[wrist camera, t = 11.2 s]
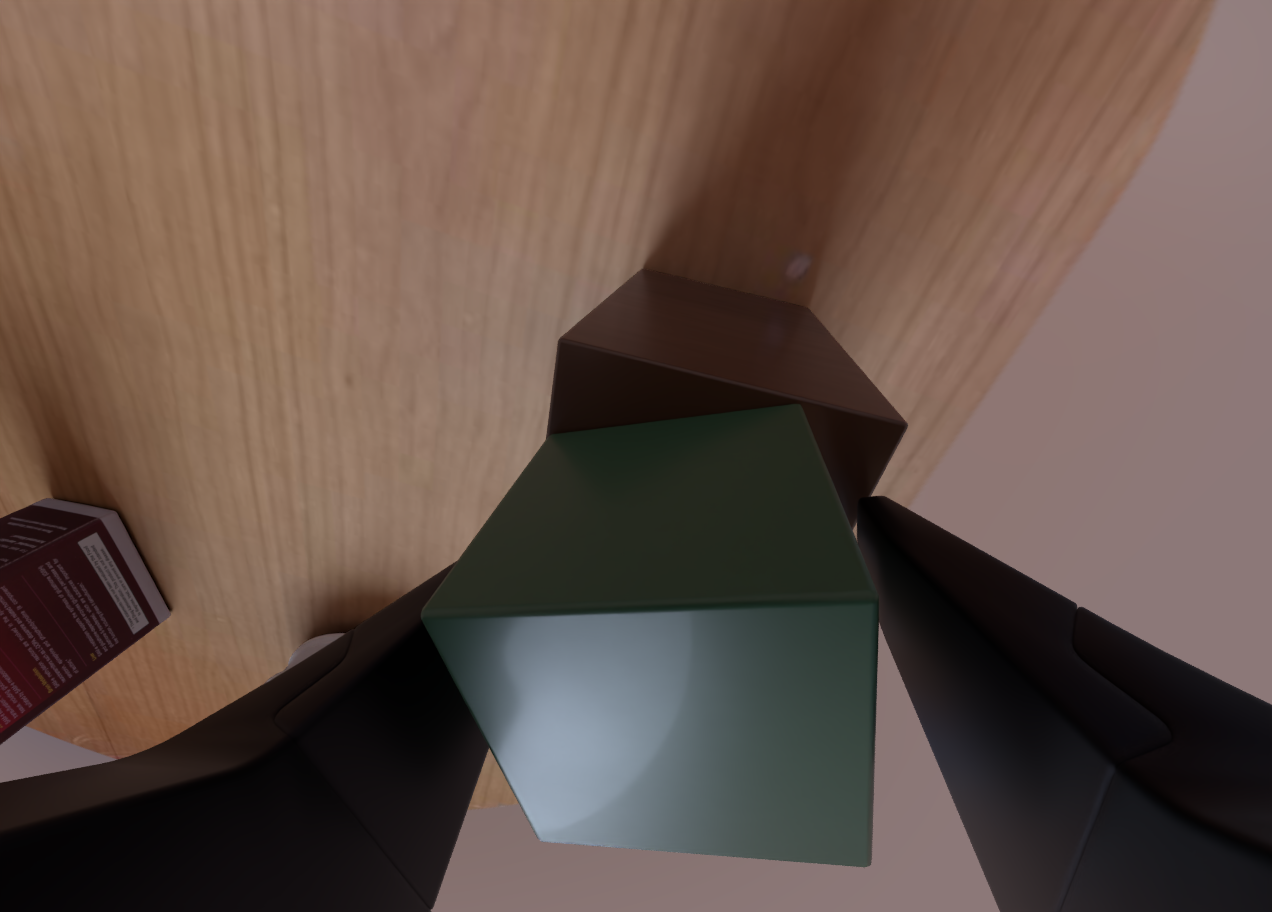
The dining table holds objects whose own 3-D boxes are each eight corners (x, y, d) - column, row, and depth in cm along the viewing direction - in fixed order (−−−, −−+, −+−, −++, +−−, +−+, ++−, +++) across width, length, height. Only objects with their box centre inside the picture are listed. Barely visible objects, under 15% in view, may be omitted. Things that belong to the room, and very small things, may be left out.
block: (548, 432, 9) (413, 613, 5) (801, 400, 8) (883, 595, 4) (603, 611, 11) (537, 844, 7) (811, 604, 10) (873, 870, 6)
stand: (641, 267, 17) (557, 338, 8) (809, 307, 17) (911, 424, 8) (611, 419, 20) (526, 593, 11) (754, 456, 19) (783, 661, 11)
